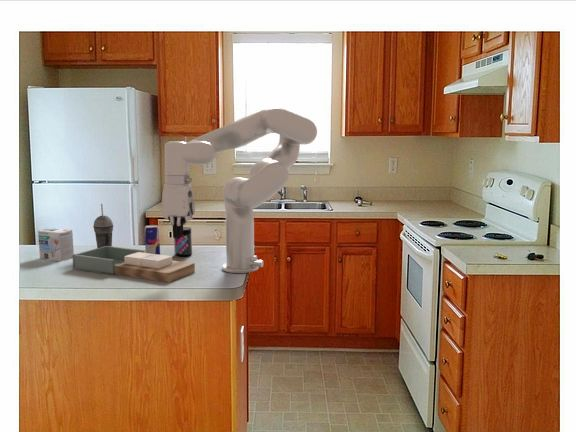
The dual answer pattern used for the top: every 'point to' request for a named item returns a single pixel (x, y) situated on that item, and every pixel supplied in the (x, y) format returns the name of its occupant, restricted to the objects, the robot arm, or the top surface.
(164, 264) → the tile
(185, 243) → the supplement container
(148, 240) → the energy drink
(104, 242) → the beverage cup
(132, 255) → the tile
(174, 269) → the wooden cutting board
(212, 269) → the top surface
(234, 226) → the robot arm
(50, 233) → the light bulb box
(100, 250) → the box
